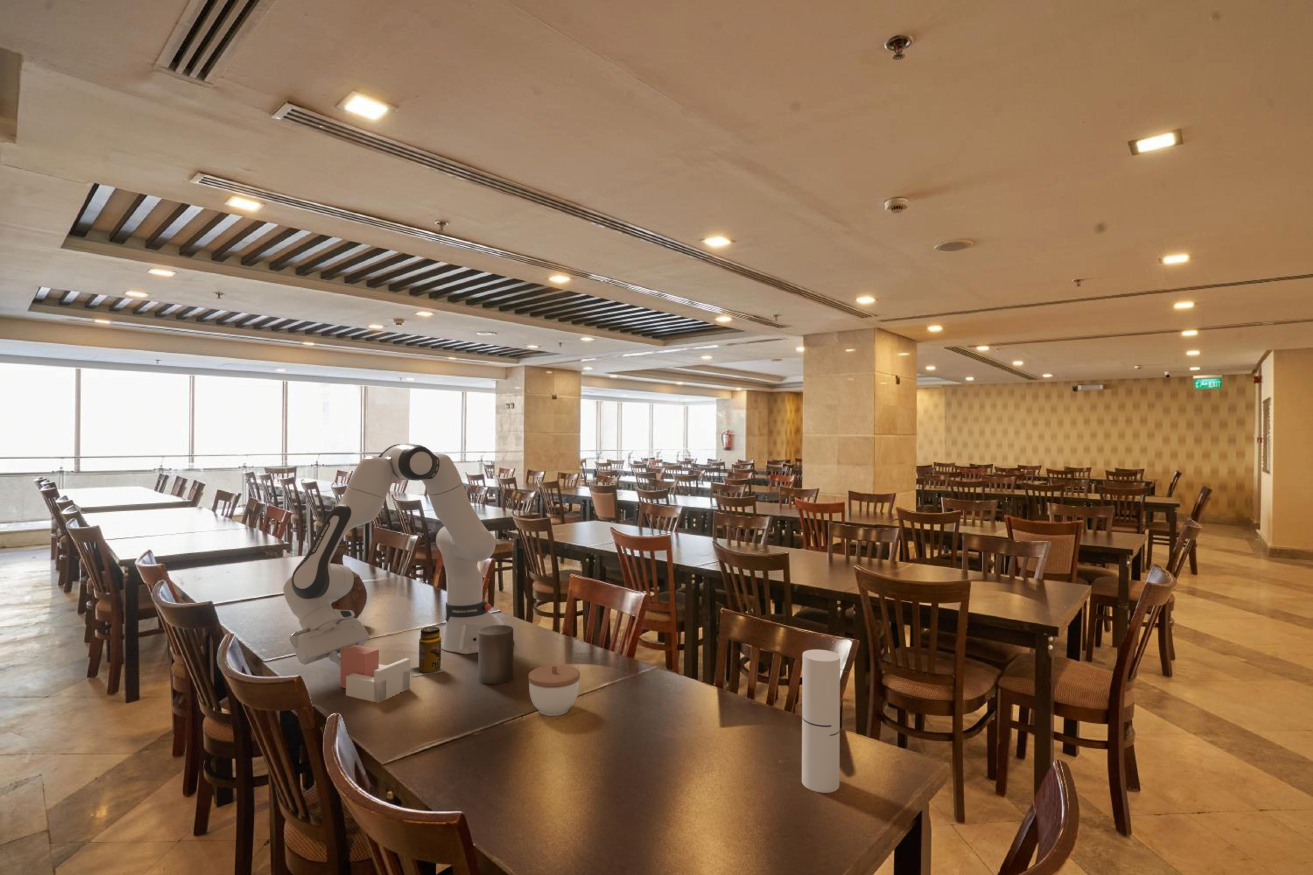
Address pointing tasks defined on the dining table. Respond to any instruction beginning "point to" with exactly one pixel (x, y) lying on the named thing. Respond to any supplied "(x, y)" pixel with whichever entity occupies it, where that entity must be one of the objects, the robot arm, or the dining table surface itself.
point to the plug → (358, 662)
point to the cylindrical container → (820, 720)
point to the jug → (358, 592)
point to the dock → (380, 682)
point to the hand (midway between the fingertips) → (346, 665)
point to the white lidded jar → (554, 688)
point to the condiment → (429, 652)
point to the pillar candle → (495, 654)
